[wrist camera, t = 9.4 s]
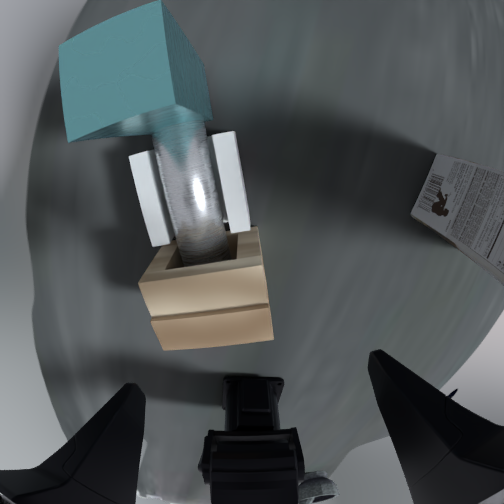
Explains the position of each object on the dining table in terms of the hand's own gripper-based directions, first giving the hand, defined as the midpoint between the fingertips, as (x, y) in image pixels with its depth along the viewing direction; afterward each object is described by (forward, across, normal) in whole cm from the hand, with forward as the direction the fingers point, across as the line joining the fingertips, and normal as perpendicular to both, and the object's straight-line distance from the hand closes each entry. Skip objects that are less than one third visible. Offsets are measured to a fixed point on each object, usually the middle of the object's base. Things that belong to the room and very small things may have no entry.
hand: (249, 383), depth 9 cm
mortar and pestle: (+14, -3, +57) cm, 59 cm away
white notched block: (+13, +2, -6) cm, 14 cm away
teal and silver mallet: (+12, +2, -6) cm, 13 cm away
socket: (+13, +3, +1) cm, 13 cm away
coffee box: (+13, -19, 0) cm, 23 cm away
